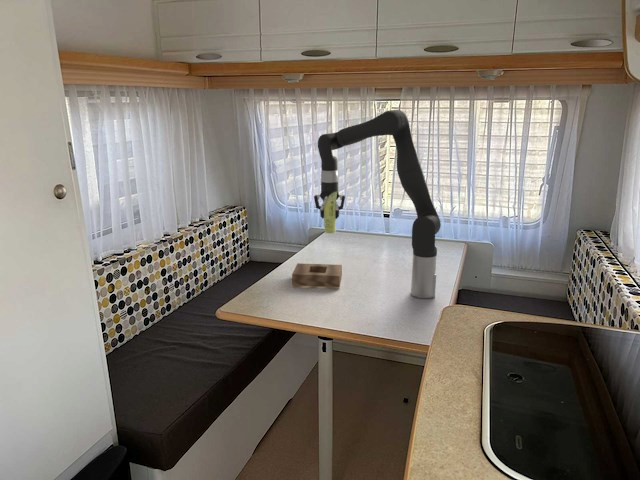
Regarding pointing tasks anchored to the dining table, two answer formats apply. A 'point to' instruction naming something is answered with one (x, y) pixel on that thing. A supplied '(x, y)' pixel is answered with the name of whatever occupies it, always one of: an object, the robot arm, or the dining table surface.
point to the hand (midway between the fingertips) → (329, 218)
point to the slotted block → (317, 276)
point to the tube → (330, 214)
